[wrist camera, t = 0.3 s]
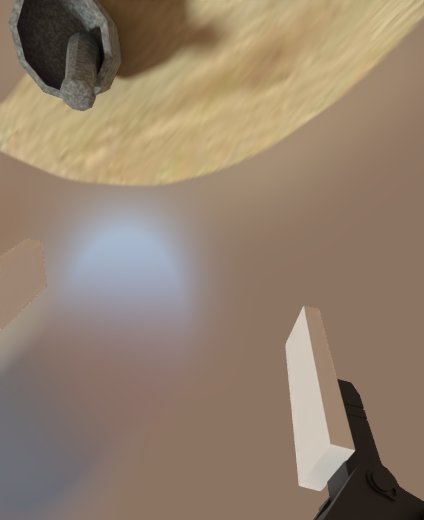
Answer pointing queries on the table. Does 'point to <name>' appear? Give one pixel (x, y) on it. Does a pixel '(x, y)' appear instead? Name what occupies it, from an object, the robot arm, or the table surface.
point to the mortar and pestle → (67, 47)
